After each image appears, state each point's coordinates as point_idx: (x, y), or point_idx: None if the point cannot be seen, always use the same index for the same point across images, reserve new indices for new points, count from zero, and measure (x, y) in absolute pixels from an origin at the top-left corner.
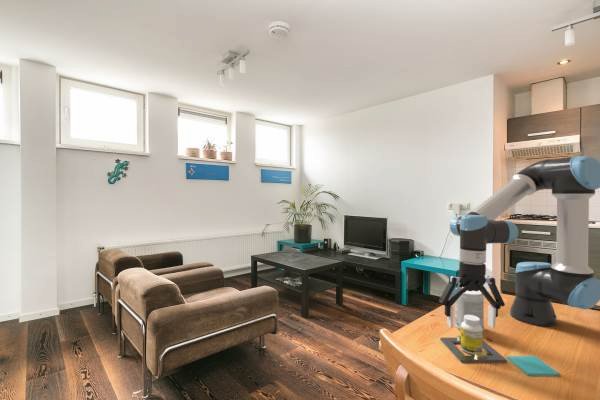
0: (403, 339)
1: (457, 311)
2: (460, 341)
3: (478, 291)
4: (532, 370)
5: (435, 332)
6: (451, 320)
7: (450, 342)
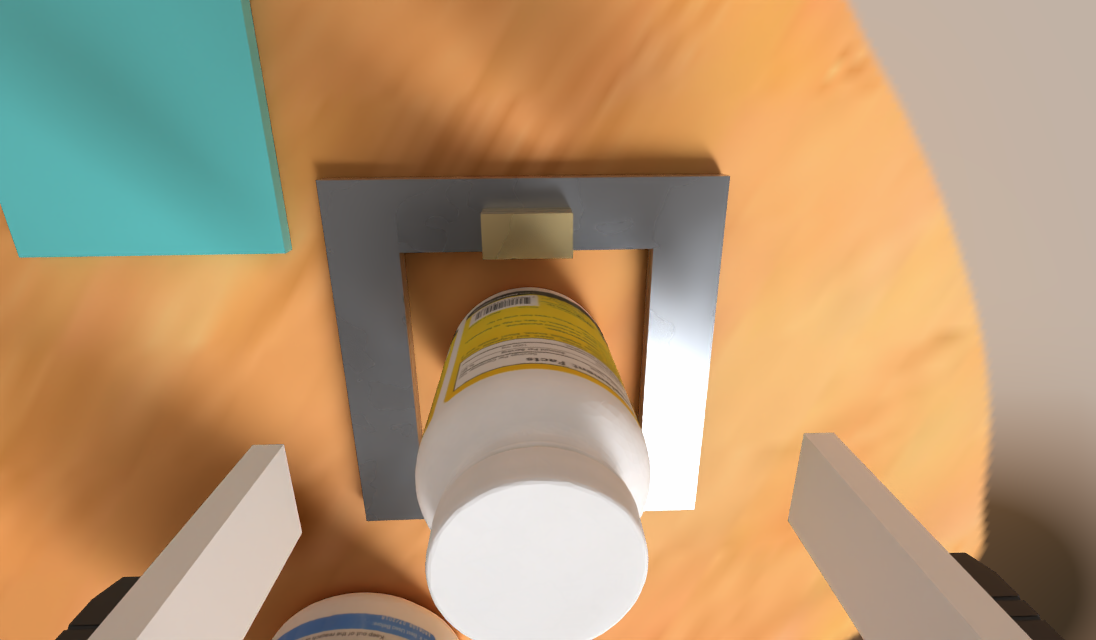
0: (966, 492)
1: None
2: None
3: None
4: (161, 6)
5: (663, 592)
6: (884, 495)
7: (656, 441)
